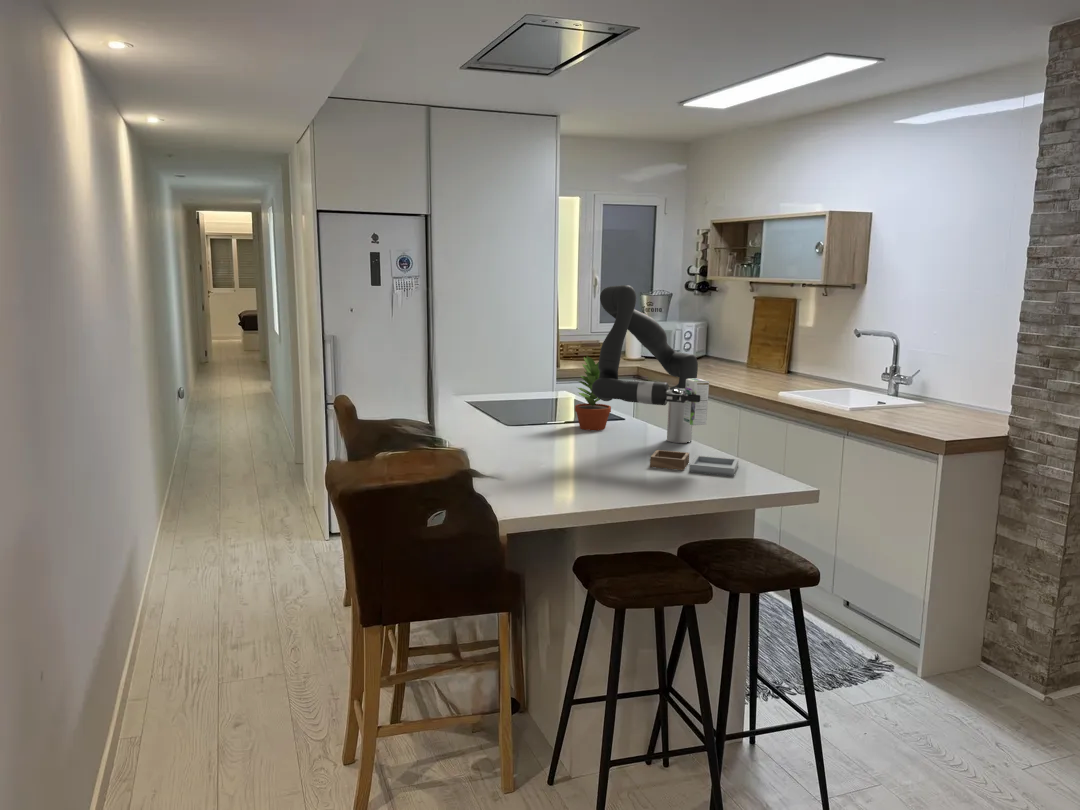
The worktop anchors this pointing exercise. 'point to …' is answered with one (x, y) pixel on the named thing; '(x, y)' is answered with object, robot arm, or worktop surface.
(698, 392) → the syrup box
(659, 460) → the walnut holder
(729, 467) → the slate tray
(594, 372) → the potted plant
